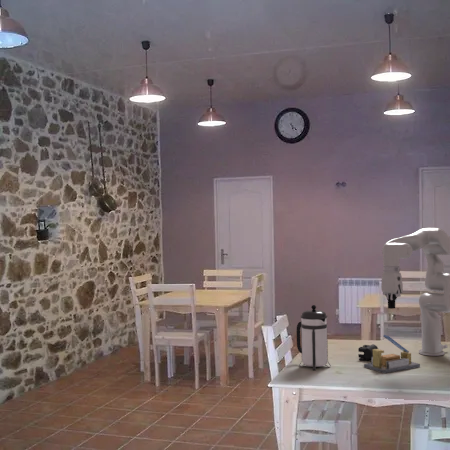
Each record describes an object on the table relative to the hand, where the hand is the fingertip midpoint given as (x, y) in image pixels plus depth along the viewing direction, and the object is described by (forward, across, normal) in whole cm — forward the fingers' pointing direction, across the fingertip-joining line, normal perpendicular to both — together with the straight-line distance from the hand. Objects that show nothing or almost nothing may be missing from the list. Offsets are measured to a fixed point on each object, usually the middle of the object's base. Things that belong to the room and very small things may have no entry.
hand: (391, 308), depth 296 cm
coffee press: (+29, +22, +30) cm, 47 cm away
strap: (+18, +1, -3) cm, 18 cm away
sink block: (+28, +1, -1) cm, 28 cm away
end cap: (+28, +20, -3) cm, 35 cm away
